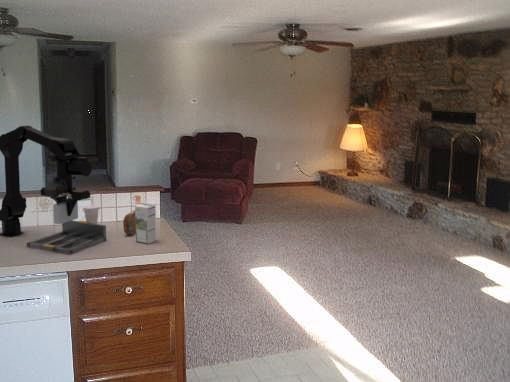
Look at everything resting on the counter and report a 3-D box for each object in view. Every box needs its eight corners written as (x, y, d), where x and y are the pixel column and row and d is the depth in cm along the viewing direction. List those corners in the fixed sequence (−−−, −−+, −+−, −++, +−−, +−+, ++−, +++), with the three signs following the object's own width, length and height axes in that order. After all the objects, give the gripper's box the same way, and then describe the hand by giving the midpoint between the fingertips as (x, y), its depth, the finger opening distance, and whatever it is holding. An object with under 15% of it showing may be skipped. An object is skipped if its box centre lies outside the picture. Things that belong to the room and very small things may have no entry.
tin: (129, 237, 216) (129, 216, 214) (122, 236, 216) (121, 215, 215) (144, 227, 230) (144, 208, 228) (137, 227, 231) (137, 207, 229)
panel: (54, 223, 199) (53, 204, 198) (73, 217, 208) (72, 199, 207) (59, 224, 198) (58, 205, 197) (78, 218, 207) (77, 200, 206)
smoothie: (97, 231, 222) (96, 198, 219) (81, 231, 222) (80, 197, 219) (102, 227, 228) (101, 194, 225) (86, 227, 228) (85, 194, 225)
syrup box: (156, 240, 212) (156, 204, 209) (147, 244, 207) (147, 206, 204) (144, 238, 214) (143, 202, 211) (135, 242, 209) (134, 205, 206)
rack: (26, 246, 200) (25, 230, 199) (65, 233, 218) (64, 218, 217) (70, 254, 192) (69, 237, 191) (106, 240, 210) (105, 224, 209)
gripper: (28, 174, 196) (30, 217, 199) (69, 179, 189) (71, 223, 192) (50, 170, 206) (52, 211, 209) (90, 175, 199) (92, 216, 202)
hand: (66, 215), depth 203 cm, fingers closed on panel, 2 cm apart
